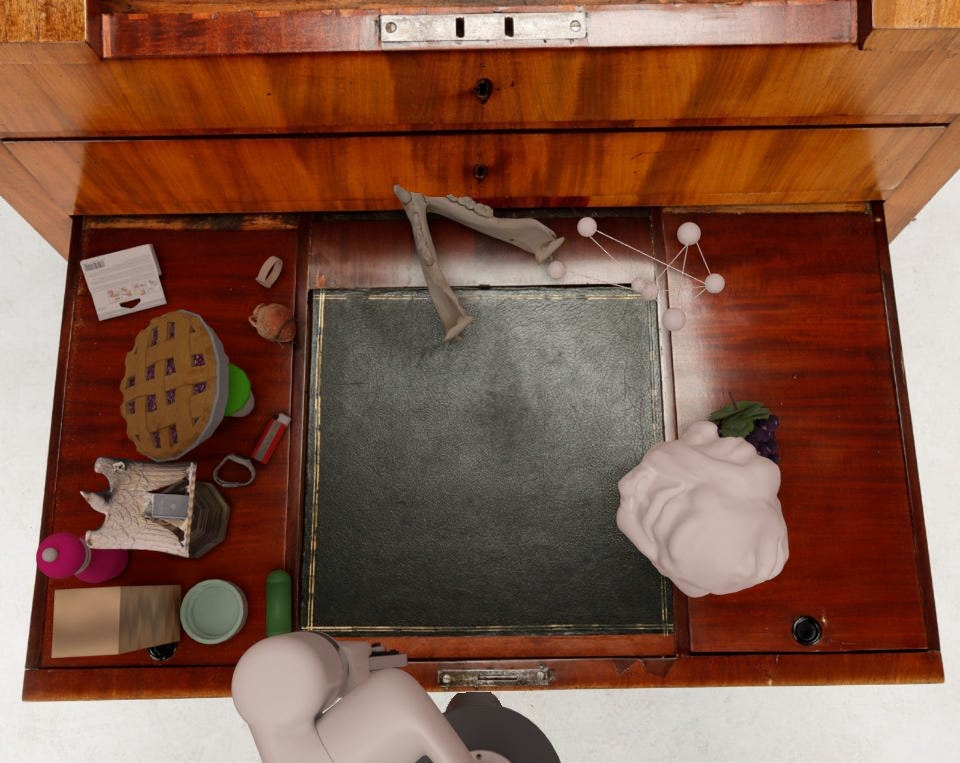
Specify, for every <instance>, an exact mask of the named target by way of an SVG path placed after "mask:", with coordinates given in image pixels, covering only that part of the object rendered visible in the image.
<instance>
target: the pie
mask: <svg viewBox="0 0 960 763" xmlns="http://www.w3.org/2000/svg"><path fill="white" fill-rule="evenodd" d="M225 354H226V353H225V349H224V345H223V343H222V341H221V339H220V338H219V336H218V335H217V334H216V332H215V330H214V329H213V328H212V327H210V326H209V325H208V324H207V323H206V322H205V320H204V319H203V318H202V316H201V315H200V314H197V313H194V312H192V311H188V310H186V309H178V310H173V311H167V313H164V314H162V315H161V316H155V317H154V318H152V319H150V320H149V325H148V327H146V328H145V329H141V330H139V332H138V334H137V335H136V337H135V338H134V346H133V348H132V350H130V351H128V352H127V353H126V355H125V359H124V361H123V362H124V366H125V372H124V376H123V378H122V379H121V381H120V385H119V392H121V393H122V396H123V397H122V399H123V402H122V403H121V405H120V406H119V410H120V416H121V417H122V418H123V419H124V420H125V421H126V425H127V426H126V431H125V434H126V436H127V437H128V439H129V440H130V441H132V442H133V444H134V445H135V450H136V452H137V453H139V454H141V455H142V456H145V457H147V458H149V459H150V460H153V461H154V462H161V463H163V462H167V461H175V460H179V459H180V458H181V457H183V456H184V455H186V454H187V453H189V452H190V451H191V450H194V449H195V448H196V447H198V446H199V445H201V444H202V443H203V442H205V441H207V440H208V439H209V438H210V437H212V435H213V434H214V432H215V431H216V430H217V428H218V427H219V425H220V424H221V422H222V420H223V419H224V417H225V416H224V412H225V408H226V403H227V399H228V382H229V368H228V364H227V360H226V356H225Z"/></svg>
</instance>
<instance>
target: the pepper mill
mask: <svg viewBox="0 0 960 763" xmlns="http://www.w3.org/2000/svg"><path fill="white" fill-rule="evenodd" d="M85 538H86V534H84V535H82V536H80V537H79V536H76V535H75V534H72V533H71V532H56V533H52V534H50V535H49V536H47V537H46V538H45V539H43V540H42V541H41V542H40V544H39V545H38V547H37V548H36V549H37V550H36V554H35V562H36V566H37V568H38V569H39V571H40V572H41V573H42V574H44V575H45V576H46V577H48V578H51V579H58V580H61V579H67V578H70V577H72V576H73V575H74V576H75V577H76V578H77V579H78V580H80V581H82V582H85V583H86V582H87V583H89V584H99V583H103V582H105V581H107V580H112V579H114V578H116V577H118V576H119V575H120V574H122V573H123V571H124V570H125V569H126V567H127V565H128V561H129V551H128V550H129V549H121V548H120V549H95V548H90V547H89V546H87V544H86V540H85Z"/></svg>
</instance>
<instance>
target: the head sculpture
mask: <svg viewBox="0 0 960 763" xmlns="http://www.w3.org/2000/svg"><path fill="white" fill-rule="evenodd" d="M717 429H718V427H717V426H716V425H715V423H713V422H710V421H707V420H698V421H694V422H692V423H691V424H690V425H689V427H688V428H687V429H686V430H685V432H683V434H681V436H680V438H679V439H675V440H671V441H660V442H656V443H653V445H651V447H650V448H649V449H648V450H647V451H646V452H645V454H644V455H643V457H642V459H641V461H640V463H638V464H637V465H636V466H634V467H633V468H632V469H631V470H629V472H627V473H626V474H625V475H623V476H622V477H621V478H620V480H618V483H617V488H618V492H619V495H620V500H619V504H620V505H619V506H618V509H617V512H616V518H615V521H616V522H615V523H616V526H617V527H618V529H619V531H621V532H622V534H624V535H625V536H626V538H628V539H629V541H630V542H631V544H633V546H634V547H636V548H637V550H638V551H639V552H640V553H641V554H642V555H643V556H645V557H646V558H648V560H649V561H650V562H651V564H652V566H654V567H655V569H656V570H657V571H658V572H659V574H660V575H662V576H664V577H666V578H668V579H670V581H671V582H672V583H673V584H674V585H675V587H677V589H679V591H680V592H682V593H683V594H685V595H686V596H688V597H690V598H700V597H704V596H708V595H709V594H713V595H717V596H722V595H726V594H727V595H728V594H732V593H737V592H740V591H742V590H745V589H749V588H752V587H754V586H756V585H759V584H761V583H764V582H766V581H770V580H772V579H774V578H776V577H777V576H778V575H779V574H780V573H781V572H782V571H783V569H784V566H785V564H786V563H787V561H788V559H789V558H790V550H789V538H788V527H787V523H786V521H785V518H784V515H783V512H782V511H783V510H782V506H781V505H782V503H781V502H780V499H779V498H778V494H779V490H780V486H781V481H782V480H781V478H782V477H781V470H780V466H778V464H777V465H776V464H775V463H774V462H772V461H771V460H770V459H768V458H765V457H762V456H759V455H757V451H756V449H755V447H754V446H753V445H751V444H750V443H748V442H747V441H746V440H744V438H742V437H737V438H735V437H726V438H719V436H718V433H717Z"/></svg>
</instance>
